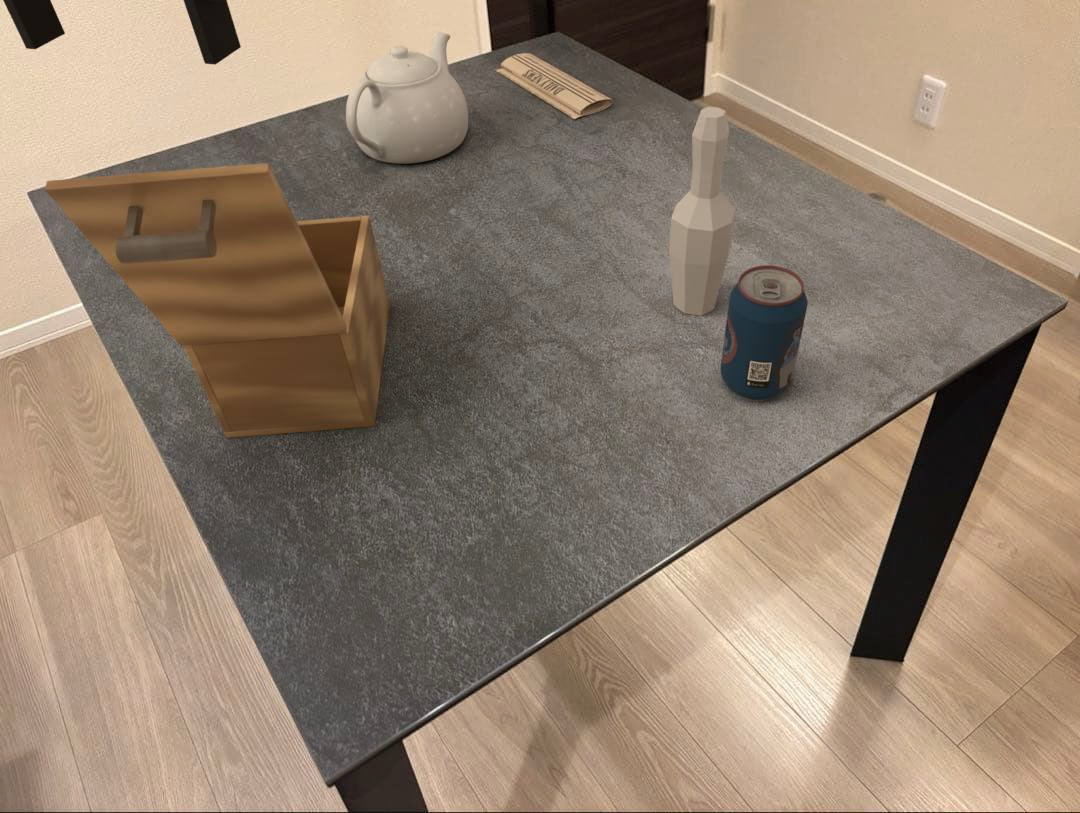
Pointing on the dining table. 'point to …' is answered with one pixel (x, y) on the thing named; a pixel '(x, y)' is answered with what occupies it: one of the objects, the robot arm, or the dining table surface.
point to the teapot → (408, 106)
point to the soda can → (763, 332)
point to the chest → (309, 350)
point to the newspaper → (553, 85)
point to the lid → (206, 251)
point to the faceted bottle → (702, 221)
